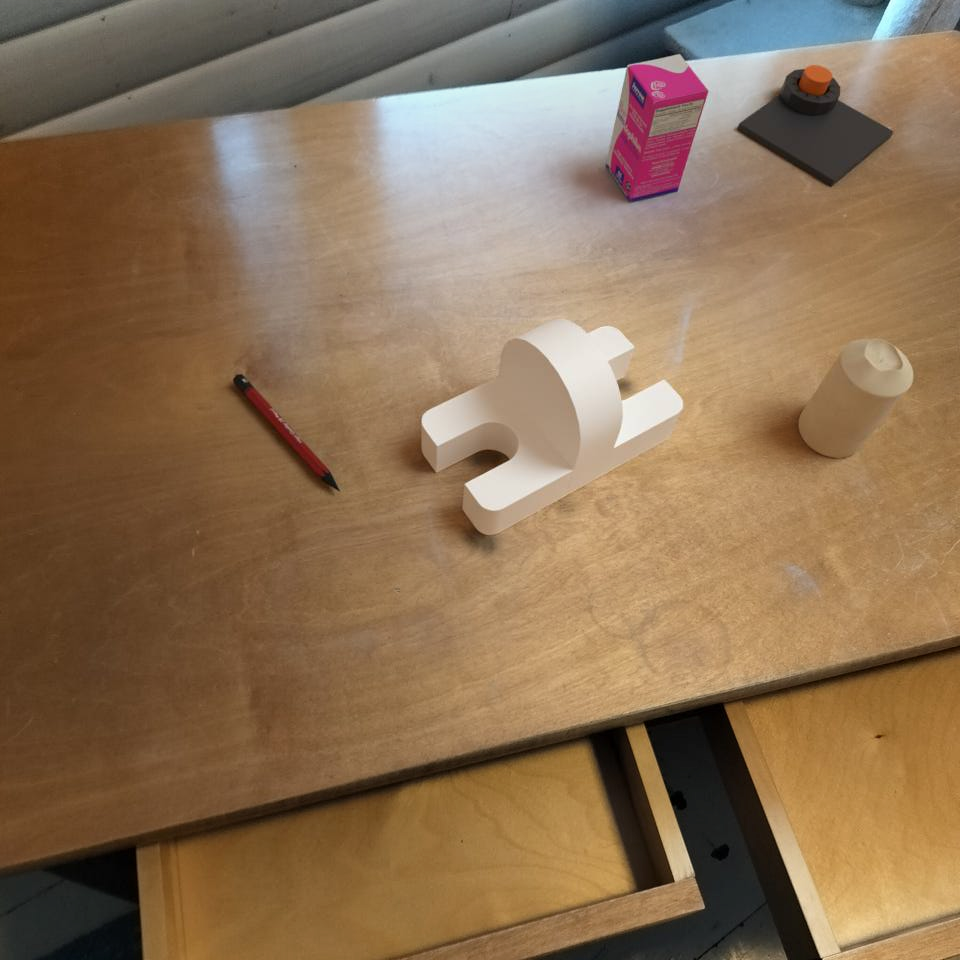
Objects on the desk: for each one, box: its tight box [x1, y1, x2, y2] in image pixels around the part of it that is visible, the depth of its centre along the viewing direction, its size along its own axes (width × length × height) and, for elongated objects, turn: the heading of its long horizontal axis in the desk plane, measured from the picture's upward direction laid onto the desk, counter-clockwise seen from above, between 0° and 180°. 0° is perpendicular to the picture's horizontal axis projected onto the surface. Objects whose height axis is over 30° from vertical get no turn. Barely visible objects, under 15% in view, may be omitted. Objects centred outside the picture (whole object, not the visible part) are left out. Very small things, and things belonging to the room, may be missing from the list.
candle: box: [797, 338, 915, 459], centre depth 67 cm, size 6×6×10 cm
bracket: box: [420, 317, 684, 536], centre depth 64 cm, size 19×10×11 cm, turn 123°
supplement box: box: [605, 53, 709, 203], centre depth 81 cm, size 6×6×12 cm
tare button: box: [799, 64, 833, 96], centre depth 92 cm, size 3×3×2 cm
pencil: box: [232, 373, 341, 493], centre depth 67 cm, size 1×14×1 cm, turn 42°
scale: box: [736, 68, 894, 188], centre depth 91 cm, size 12×12×2 cm
